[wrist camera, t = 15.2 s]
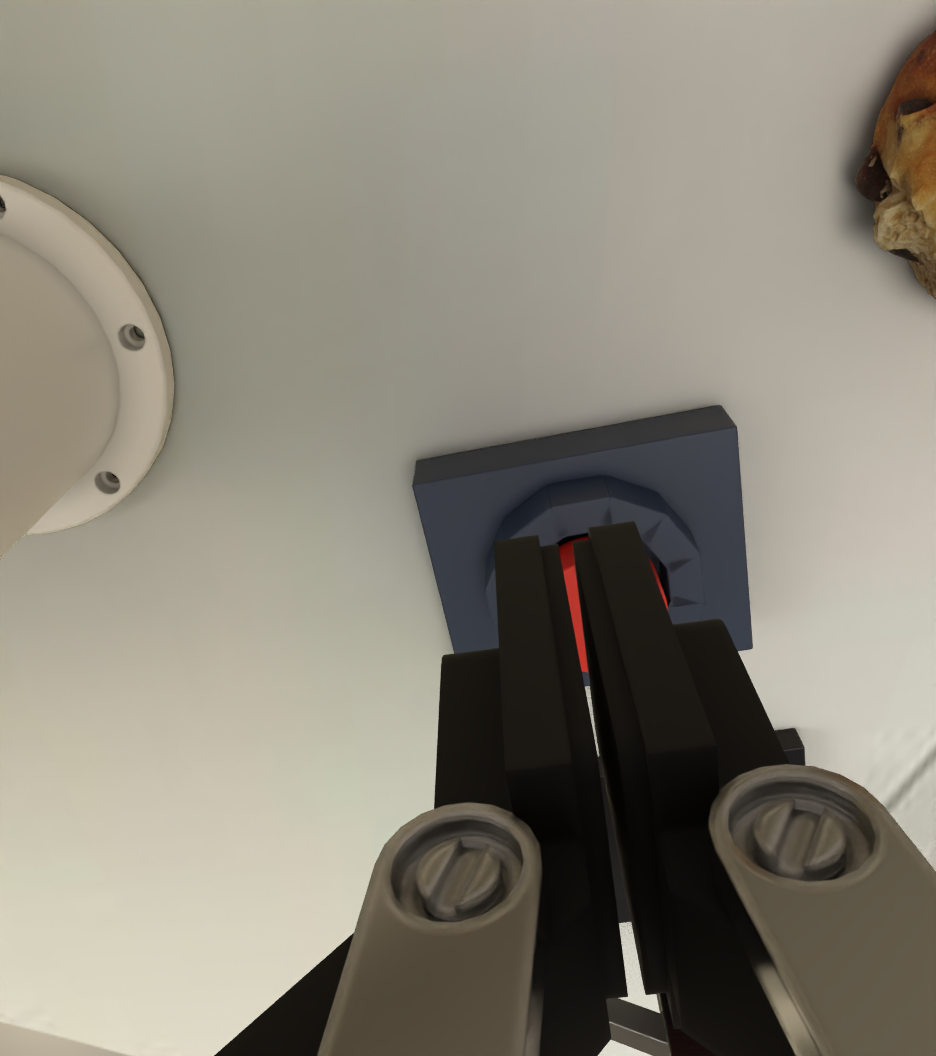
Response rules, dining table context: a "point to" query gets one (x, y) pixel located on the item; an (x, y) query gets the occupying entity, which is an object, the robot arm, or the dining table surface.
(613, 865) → the lever bracket
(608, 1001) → the lever
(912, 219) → the bread roll
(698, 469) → the button housing
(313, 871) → the dining table surface
